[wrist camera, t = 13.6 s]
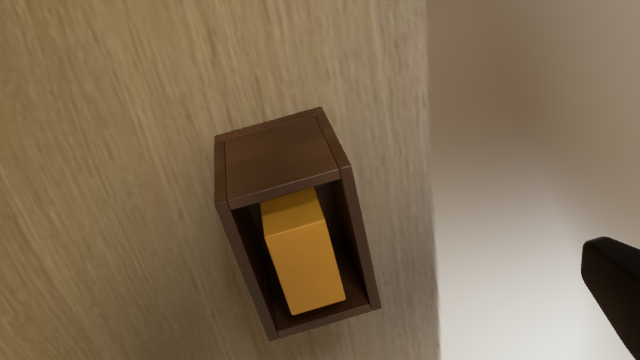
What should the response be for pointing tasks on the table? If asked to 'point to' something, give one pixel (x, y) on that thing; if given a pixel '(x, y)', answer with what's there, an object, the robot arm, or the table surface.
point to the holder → (284, 178)
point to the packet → (301, 250)
